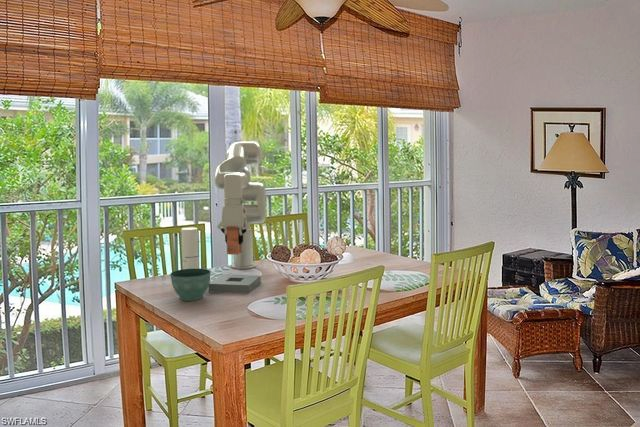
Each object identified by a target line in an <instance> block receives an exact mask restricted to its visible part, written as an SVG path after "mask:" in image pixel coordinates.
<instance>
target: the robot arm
mask: <svg viewBox="0 0 640 427" xmlns="http://www.w3.org/2000/svg"><path fill="white" fill-rule="evenodd" d="M226 156H227V157H226V158H227V159H225V160H224V161H222V162H221V163H220V164H219V165H218V166H217V168H216V170H215V174H214V175H215V176H214V184H215V187H216V188H218V189H219V190H223V194H224V195H223V197H224V200H223V201H224V204H223V206H222V210H221V211H222V212H221V221H220V222H219V223H218V224H217V226H216V227H217V229H219V231H220V232H222V234H223V235H224V241H225V243H226V245H227V227H238V229H239V244H242V253H240V254H239V255H233V263H231V264H230V267H231V268H232V269H237V270H245V269H247V270H248V269H253V268H255V267H256V266H257V263H255V262H254V261H253V260H254V259H253V258H254V256H253V255H254V252H253V251H254V250H253V231H252V229H251V228H252V227H251V226H250V224H264V222H266V220H267V219H266V218H267V197H266V196H267V195H266V192H267V191H266V188H265V185H264V184H263V183H262V182H251V171H250V170H249V169H248V167H247V165H260V164H261V163H262V161H263V151H262V147H261V146H260V144H259V143H258V142H256V141H237V142H233V143H232V144H231V145H230V147H229V149H228V150H226ZM246 202H247V204H246ZM248 202H251V203H252V204H248ZM253 203H256V204H253Z"/></svg>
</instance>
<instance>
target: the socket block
mask: <svg viewBox="0 0 640 427" xmlns="http://www.w3.org/2000/svg"><path fill="white" fill-rule="evenodd" d="M261 280H262V279H261V275H256V274H254V275H253V274H252V275H251V274H231V273H230V274H227V273H226V274H224V273H221V275H219V276H217V277H216V278H214V279H213V280H211V281H210V282H209V286H208V288H207V290H208V292H209V293H231V294H234V293H235V294H250V293H252V291H253V290H255V289H256V288H257V287H258V286H259V285H260V284H262V282H261Z"/></svg>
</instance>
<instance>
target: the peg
mask: <svg viewBox="0 0 640 427" xmlns="http://www.w3.org/2000/svg"><path fill="white" fill-rule="evenodd" d="M240 253H242V244H239V229H238V227H227V244H226V255H233V256H234V255H239V254H240Z"/></svg>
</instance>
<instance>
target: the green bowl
mask: <svg viewBox="0 0 640 427" xmlns="http://www.w3.org/2000/svg"><path fill="white" fill-rule="evenodd" d="M211 272H212V271H211V270H210V269H207V268H199V269H183V268H182V269H178V270H174V271H172V272H170V279H171V280H170V281H171V284H172V287H173V290H174V292H175V293H176V294H177V295H178V297H179V300H181V301H184V302H185V301H187V302H189V301H191V302H192V301H198V300H201V299H203V298H204V295H205V293H206V292H207V290H208V286H209V283H210V282H211V274H212V273H211Z"/></svg>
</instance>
